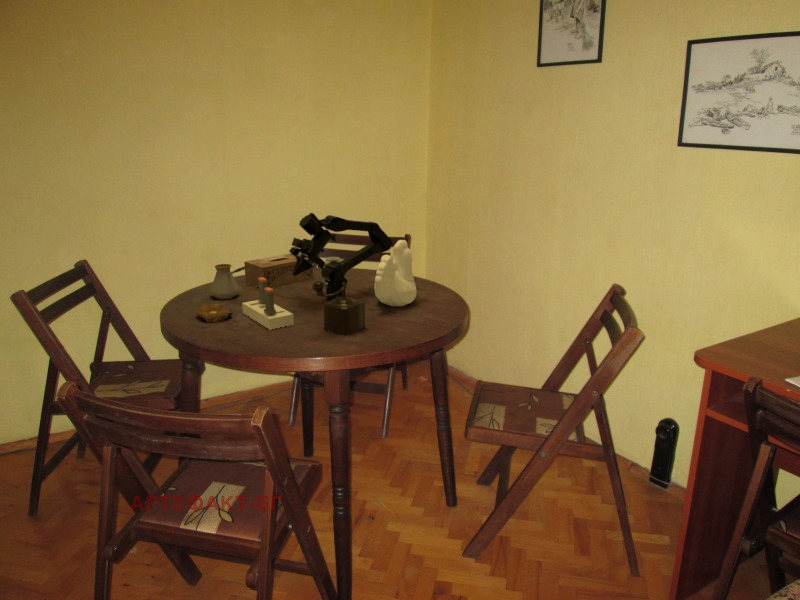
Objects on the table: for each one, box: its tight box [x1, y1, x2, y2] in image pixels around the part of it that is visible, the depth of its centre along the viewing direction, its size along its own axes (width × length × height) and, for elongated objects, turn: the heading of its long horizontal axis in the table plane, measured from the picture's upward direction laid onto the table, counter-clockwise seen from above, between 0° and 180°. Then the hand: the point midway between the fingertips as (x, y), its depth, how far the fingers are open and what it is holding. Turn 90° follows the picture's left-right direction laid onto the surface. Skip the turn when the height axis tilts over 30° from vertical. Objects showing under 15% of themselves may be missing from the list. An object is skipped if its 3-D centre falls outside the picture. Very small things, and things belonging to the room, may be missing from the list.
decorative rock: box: [195, 303, 233, 324], centre depth 221 cm, size 11×4×15 cm
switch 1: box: [257, 277, 267, 303], centre depth 223 cm, size 3×4×9 cm
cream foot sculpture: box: [373, 239, 418, 307], centre depth 232 cm, size 25×16×25 cm, turn 143°
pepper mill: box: [311, 280, 366, 336], centre depth 205 cm, size 16×11×18 cm
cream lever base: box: [241, 299, 295, 331], centre depth 218 cm, size 9×23×4 cm, turn 37°
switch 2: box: [264, 287, 276, 315], centre depth 210 cm, size 3×4×9 cm
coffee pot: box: [209, 263, 249, 300], centre depth 240 cm, size 21×12×15 cm, turn 51°
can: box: [324, 256, 342, 286], centre depth 262 cm, size 8×8×12 cm
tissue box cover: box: [243, 252, 314, 289], centre depth 268 cm, size 26×14×10 cm, turn 134°
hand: (293, 275), depth 229 cm, fingers closed
